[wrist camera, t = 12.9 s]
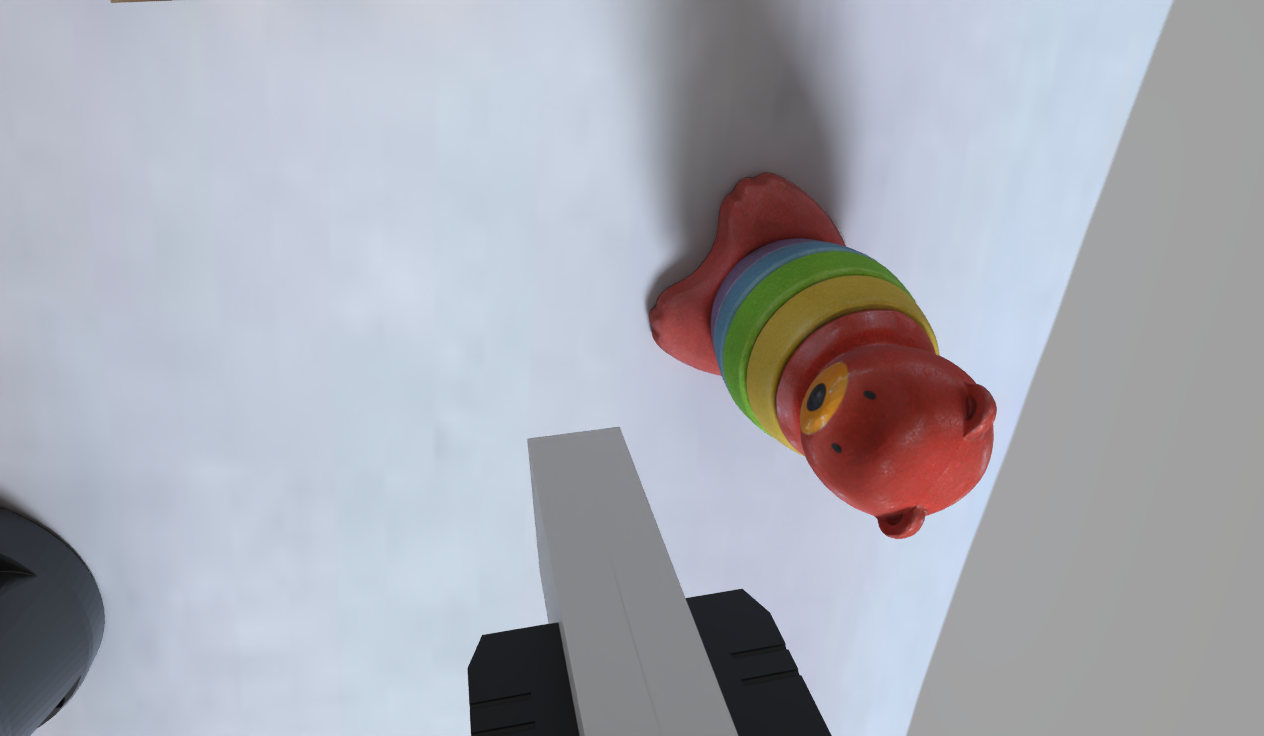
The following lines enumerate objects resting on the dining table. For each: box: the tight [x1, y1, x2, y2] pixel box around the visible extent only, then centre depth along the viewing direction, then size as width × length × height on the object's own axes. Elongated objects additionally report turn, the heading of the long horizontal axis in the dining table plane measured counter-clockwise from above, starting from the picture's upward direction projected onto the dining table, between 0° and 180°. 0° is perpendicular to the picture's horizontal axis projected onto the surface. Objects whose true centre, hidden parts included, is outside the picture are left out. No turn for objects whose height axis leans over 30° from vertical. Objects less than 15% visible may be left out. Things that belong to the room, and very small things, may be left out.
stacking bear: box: [649, 173, 997, 539], centre depth 38 cm, size 11×10×18 cm
